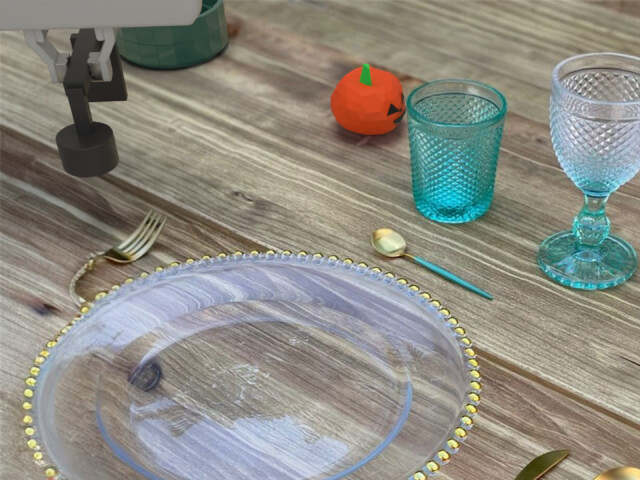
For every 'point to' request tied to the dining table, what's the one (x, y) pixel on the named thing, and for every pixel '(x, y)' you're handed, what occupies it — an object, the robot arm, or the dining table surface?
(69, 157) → the dark grey desk lamp
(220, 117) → the dining table surface
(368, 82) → the pumpkin
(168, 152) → the dining table surface
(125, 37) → the bowl
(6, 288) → the dining table surface
